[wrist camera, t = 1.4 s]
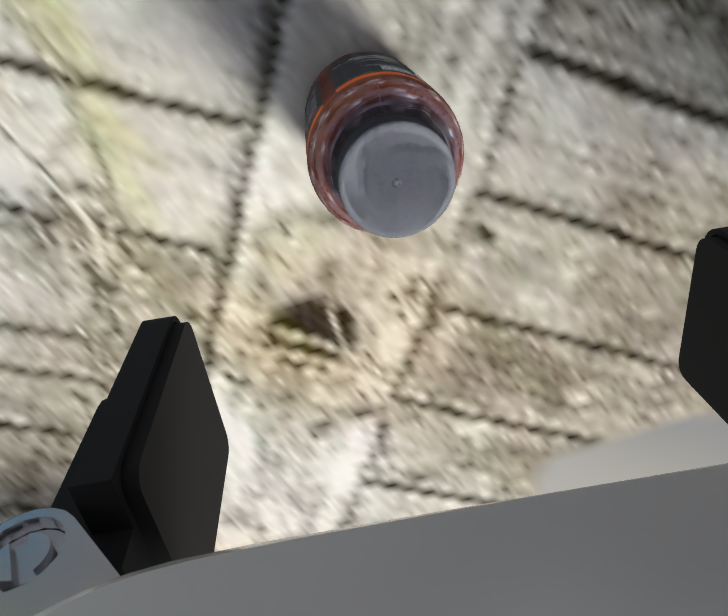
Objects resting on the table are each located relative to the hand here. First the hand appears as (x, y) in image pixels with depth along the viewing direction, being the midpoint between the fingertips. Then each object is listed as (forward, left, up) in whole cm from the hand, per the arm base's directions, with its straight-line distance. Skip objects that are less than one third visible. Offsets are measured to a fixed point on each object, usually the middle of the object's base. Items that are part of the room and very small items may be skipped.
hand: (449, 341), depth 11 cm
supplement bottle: (0, 0, -21) cm, 21 cm away
